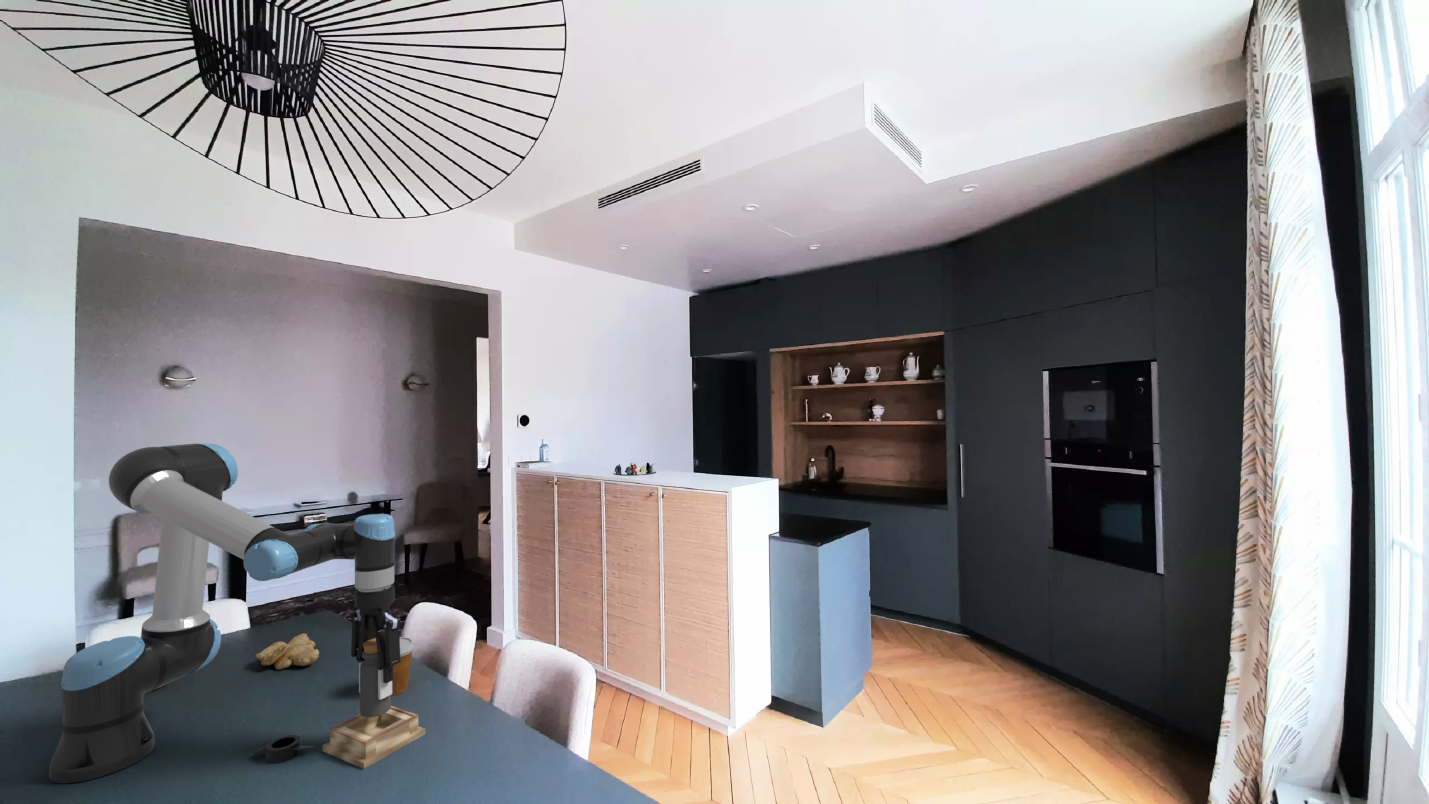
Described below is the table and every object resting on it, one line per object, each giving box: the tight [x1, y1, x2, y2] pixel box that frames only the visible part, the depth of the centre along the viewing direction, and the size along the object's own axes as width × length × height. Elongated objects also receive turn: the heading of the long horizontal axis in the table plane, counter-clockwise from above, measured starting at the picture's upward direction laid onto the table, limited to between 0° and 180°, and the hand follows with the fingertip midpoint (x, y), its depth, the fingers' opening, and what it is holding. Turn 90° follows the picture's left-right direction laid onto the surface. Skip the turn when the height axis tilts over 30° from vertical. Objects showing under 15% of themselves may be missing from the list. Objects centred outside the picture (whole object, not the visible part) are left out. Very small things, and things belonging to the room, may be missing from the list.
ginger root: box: [255, 632, 320, 671], centre depth 167 cm, size 16×16×8 cm
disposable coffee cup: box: [391, 636, 415, 697], centre depth 151 cm, size 10×10×12 cm
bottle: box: [359, 637, 392, 717], centre depth 128 cm, size 6×6×15 cm
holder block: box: [321, 705, 426, 770], centre depth 128 cm, size 14×14×4 cm
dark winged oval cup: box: [251, 734, 315, 765], centre depth 123 cm, size 8×10×3 cm
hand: (375, 693), depth 128 cm, fingers closed on bottle, 6 cm apart
